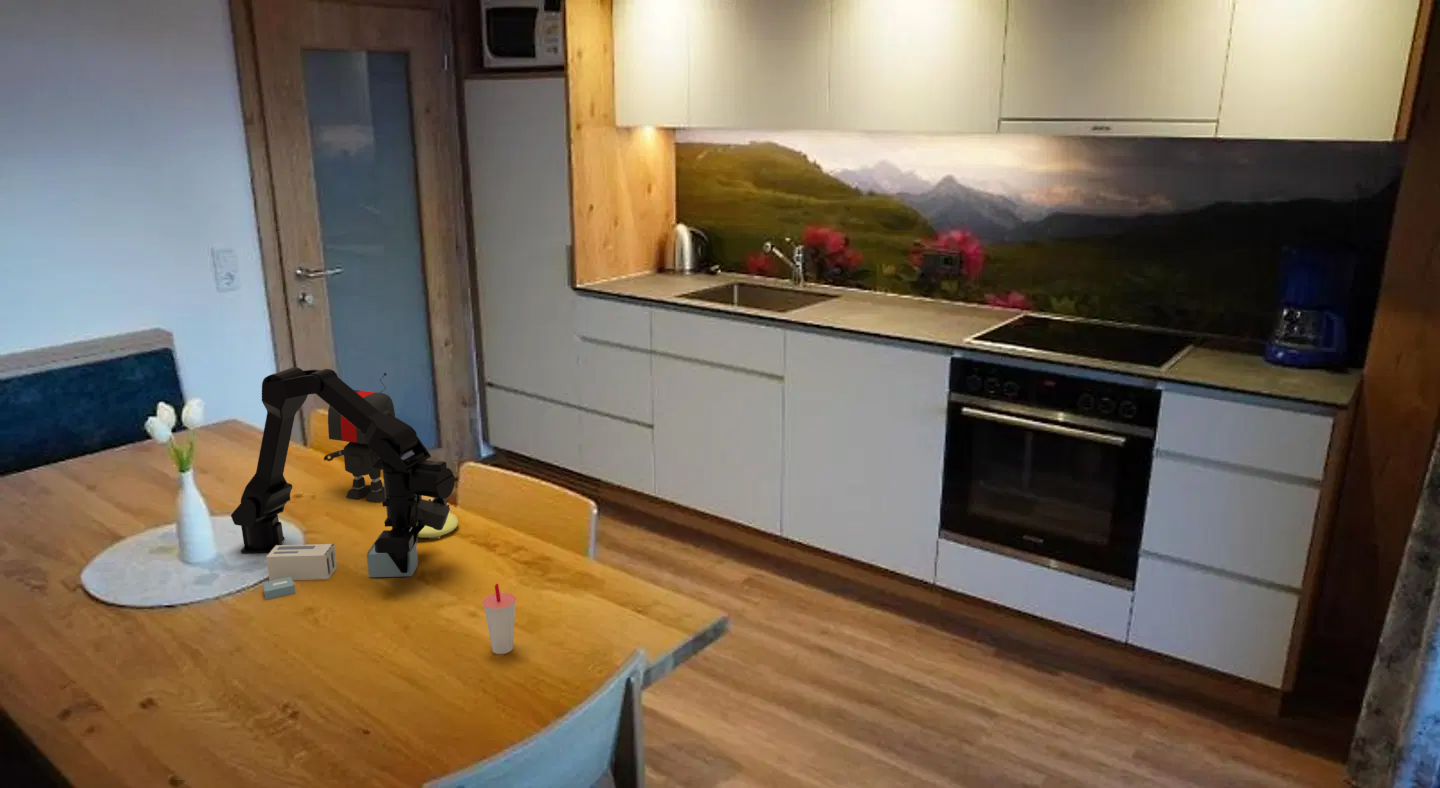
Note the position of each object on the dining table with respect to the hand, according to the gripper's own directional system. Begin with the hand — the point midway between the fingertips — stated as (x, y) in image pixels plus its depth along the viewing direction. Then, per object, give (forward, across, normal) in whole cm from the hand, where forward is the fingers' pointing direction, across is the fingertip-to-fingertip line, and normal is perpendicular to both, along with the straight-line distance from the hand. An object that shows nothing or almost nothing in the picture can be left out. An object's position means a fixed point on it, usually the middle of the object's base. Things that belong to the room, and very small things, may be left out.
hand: (407, 566), depth 187 cm
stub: (+1, 0, +3) cm, 3 cm away
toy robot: (+1, +39, +18) cm, 43 cm away
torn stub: (+2, -7, +22) cm, 23 cm away
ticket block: (+1, 0, +20) cm, 20 cm away
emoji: (+2, +19, 0) cm, 19 cm away
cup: (+1, -29, -22) cm, 37 cm away
